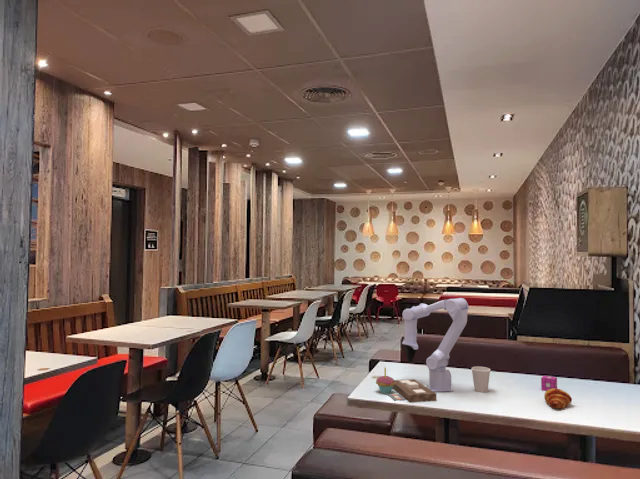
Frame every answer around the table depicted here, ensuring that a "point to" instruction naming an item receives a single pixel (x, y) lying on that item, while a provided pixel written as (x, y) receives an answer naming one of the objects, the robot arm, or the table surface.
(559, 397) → the croissant
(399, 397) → the pattern card
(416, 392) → the button
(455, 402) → the table surface
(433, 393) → the button board
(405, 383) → the button
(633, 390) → the table surface
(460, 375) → the table surface
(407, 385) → the button middle
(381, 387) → the cupcake
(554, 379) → the puzzle toy
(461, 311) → the robot arm
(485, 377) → the dixie cup
